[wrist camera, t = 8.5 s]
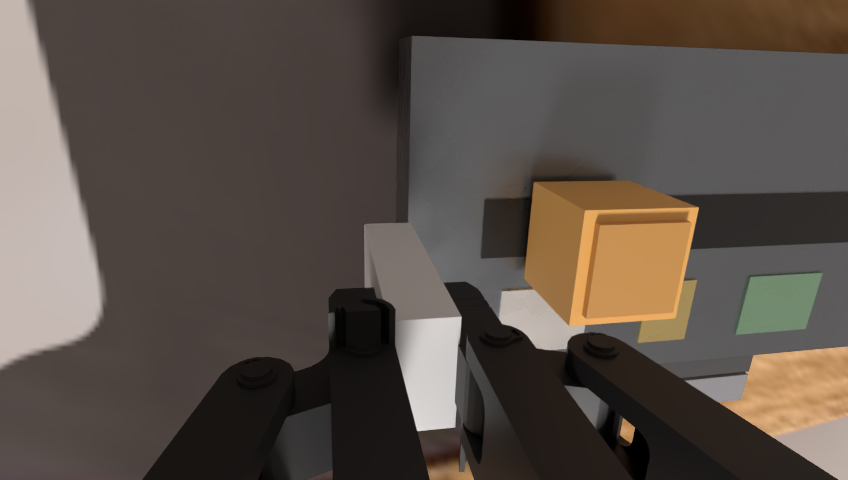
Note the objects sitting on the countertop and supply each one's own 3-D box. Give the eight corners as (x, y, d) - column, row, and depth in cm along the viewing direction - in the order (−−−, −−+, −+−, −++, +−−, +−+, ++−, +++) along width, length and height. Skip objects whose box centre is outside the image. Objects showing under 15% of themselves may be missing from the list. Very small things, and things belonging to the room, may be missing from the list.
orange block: (524, 278, 21) (573, 330, 17) (533, 181, 19) (589, 213, 16) (613, 274, 22) (681, 322, 18) (628, 180, 20) (705, 210, 16)
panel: (394, 350, 25) (404, 388, 22) (398, 39, 20) (412, 35, 17) (809, 318, 29) (863, 345, 27) (889, 58, 25) (964, 58, 22)
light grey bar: (488, 406, 27) (498, 426, 25) (490, 380, 26) (500, 399, 25) (719, 382, 30) (741, 399, 28) (726, 358, 29) (747, 374, 28)
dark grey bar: (490, 377, 26) (501, 395, 25) (492, 349, 26) (503, 367, 24) (726, 355, 29) (748, 371, 28) (733, 330, 29) (756, 345, 27)
